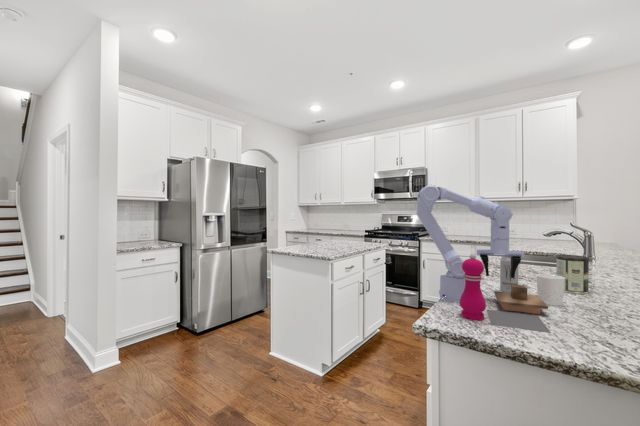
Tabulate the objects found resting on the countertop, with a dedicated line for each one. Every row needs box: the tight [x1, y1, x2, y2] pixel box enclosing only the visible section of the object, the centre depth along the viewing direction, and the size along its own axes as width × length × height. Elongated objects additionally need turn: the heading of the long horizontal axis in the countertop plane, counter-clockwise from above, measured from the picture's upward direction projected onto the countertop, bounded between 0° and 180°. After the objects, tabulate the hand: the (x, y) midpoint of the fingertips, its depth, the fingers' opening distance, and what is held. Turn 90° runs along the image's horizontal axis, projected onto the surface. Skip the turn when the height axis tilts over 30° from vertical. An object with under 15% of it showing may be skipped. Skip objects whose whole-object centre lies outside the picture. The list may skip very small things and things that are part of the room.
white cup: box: [536, 273, 565, 307], centre depth 105 cm, size 8×8×10 cm
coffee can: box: [555, 254, 590, 295], centre depth 122 cm, size 10×10×14 cm
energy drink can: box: [499, 256, 519, 293], centre depth 118 cm, size 6×6×15 cm
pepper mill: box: [459, 253, 487, 321], centre depth 92 cm, size 7×7×20 cm
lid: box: [493, 284, 549, 310], centre depth 100 cm, size 13×13×5 cm
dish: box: [500, 304, 541, 315], centre depth 100 cm, size 10×10×3 cm
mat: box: [486, 308, 552, 334], centre depth 89 cm, size 14×14×1 cm
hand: (499, 276), depth 107 cm, fingers open, 7 cm apart
